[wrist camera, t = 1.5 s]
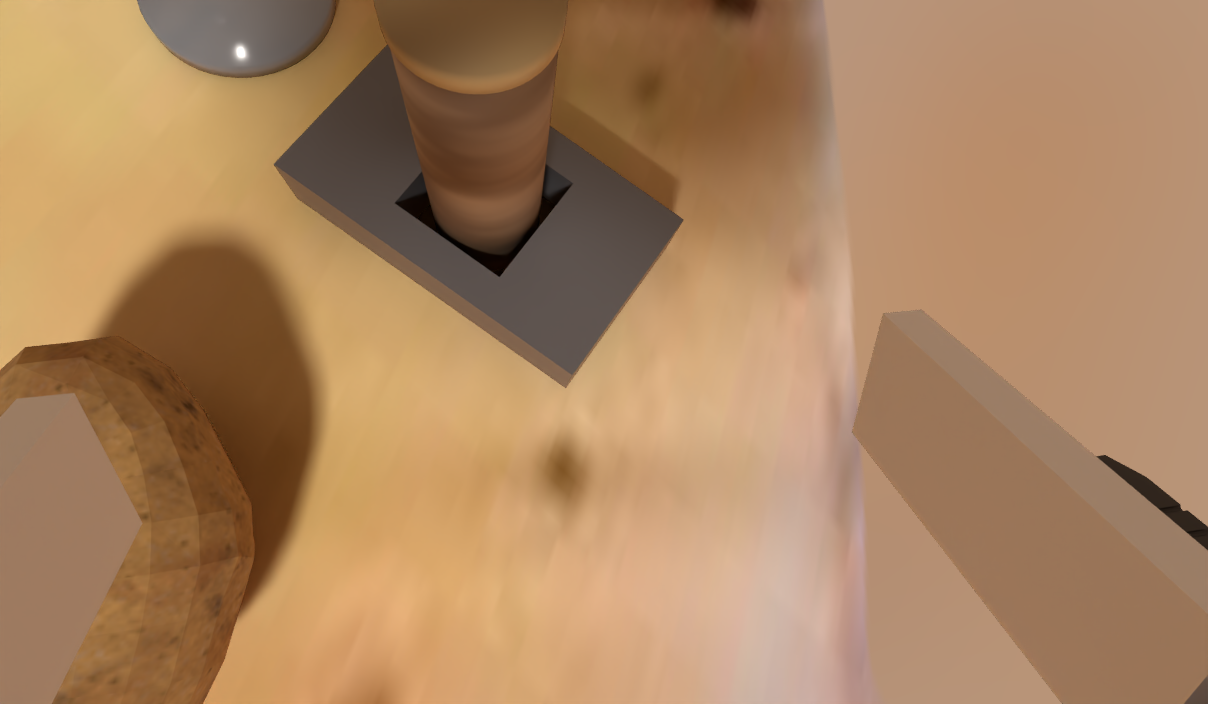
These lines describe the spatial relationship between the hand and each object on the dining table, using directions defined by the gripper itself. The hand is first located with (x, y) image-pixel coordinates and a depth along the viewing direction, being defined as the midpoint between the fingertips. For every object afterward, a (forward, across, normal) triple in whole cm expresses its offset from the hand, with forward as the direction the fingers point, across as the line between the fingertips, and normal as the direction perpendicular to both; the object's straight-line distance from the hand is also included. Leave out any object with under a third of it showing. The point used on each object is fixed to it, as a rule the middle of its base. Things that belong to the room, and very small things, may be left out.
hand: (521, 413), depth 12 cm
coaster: (+27, -10, +4) cm, 29 cm away
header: (+19, 0, -4) cm, 20 cm away
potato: (+11, -14, -13) cm, 22 cm away
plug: (+19, 0, -4) cm, 20 cm away
